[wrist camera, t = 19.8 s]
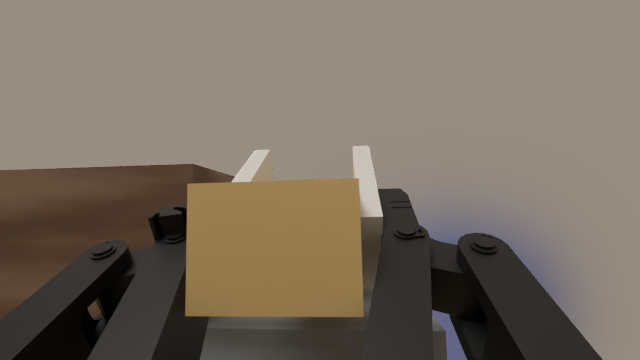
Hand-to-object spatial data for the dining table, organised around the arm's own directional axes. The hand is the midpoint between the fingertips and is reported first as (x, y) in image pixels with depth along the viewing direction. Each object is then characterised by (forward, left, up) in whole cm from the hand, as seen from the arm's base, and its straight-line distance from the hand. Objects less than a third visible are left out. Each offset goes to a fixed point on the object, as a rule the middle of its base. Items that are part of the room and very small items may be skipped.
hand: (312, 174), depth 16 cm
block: (0, 0, -4) cm, 4 cm away
